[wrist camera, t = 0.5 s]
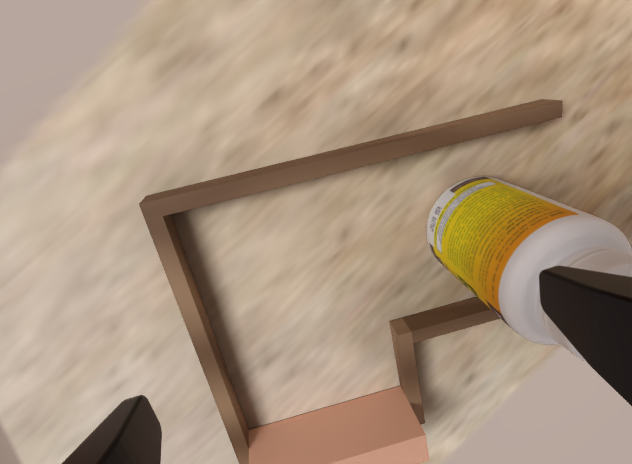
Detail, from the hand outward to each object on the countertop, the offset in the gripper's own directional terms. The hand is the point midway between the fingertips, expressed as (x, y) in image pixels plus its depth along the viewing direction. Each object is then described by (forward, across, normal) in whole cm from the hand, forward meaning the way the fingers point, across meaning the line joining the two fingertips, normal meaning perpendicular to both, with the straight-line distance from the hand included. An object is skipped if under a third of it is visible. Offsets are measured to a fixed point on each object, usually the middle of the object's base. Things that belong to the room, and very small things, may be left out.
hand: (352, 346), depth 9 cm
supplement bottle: (+14, -9, +4) cm, 17 cm away
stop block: (+13, +2, +15) cm, 20 cm away
